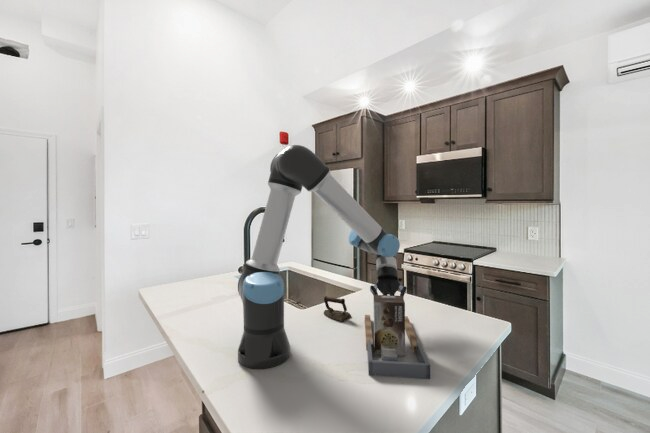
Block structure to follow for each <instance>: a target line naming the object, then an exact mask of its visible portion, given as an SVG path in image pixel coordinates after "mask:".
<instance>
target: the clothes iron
mask: <svg viewBox="0 0 650 433" xmlns="http://www.w3.org/2000/svg"><path fill="white" fill-rule="evenodd" d="M323 300H324V304H325V307H326V309H325V310H323V315H324V316H325V317H326V318H328V319H330V320H332V321H336V322H337V323H343V322H345V321H347V320H349V319H350V318H351V317H352V314H351V313H350V312H348V310H347V309H348V307H347V305H346V300H345V298H336V297H332V296H331V297H329V296H327V295H325V296H324V297H323ZM329 303H335V304H340V305H342V308H343V310H336V309H334V308H332V307H330V305H329Z"/></svg>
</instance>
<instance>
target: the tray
mask: <svg viewBox="0 0 650 433" xmlns="http://www.w3.org/2000/svg"><path fill="white" fill-rule="evenodd" d="M372 352H373V351H372V349H371V339H367V352H366V353H367V354H366V355H367V368H368V376H375V377H377V376H378V377H379V376H380V377H395V378H409V379H410V378H412V379H428V380H430V379H431V364H430V362H429V360H428V357H427V354H426V353H425V351H424V348H423V346H422V343H421V342H420V341H418V342H416V353H415V354H416V356H417V359H418V361H419V362H412V361H411V362H409V361H398V362H396V361H381V360H377V359H376V360H374V359H373V353H372Z"/></svg>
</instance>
